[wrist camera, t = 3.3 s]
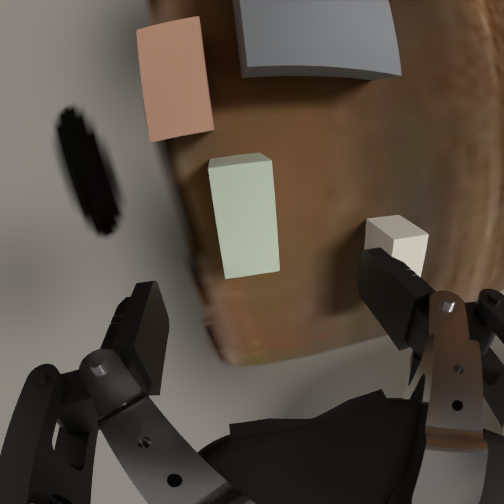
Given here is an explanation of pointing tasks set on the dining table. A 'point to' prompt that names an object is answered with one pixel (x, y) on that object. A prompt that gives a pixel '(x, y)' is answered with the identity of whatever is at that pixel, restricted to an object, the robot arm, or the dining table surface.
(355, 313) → the dining table surface
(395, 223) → the cream brick
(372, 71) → the charcoal block
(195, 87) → the terracotta brick
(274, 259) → the sage brick
